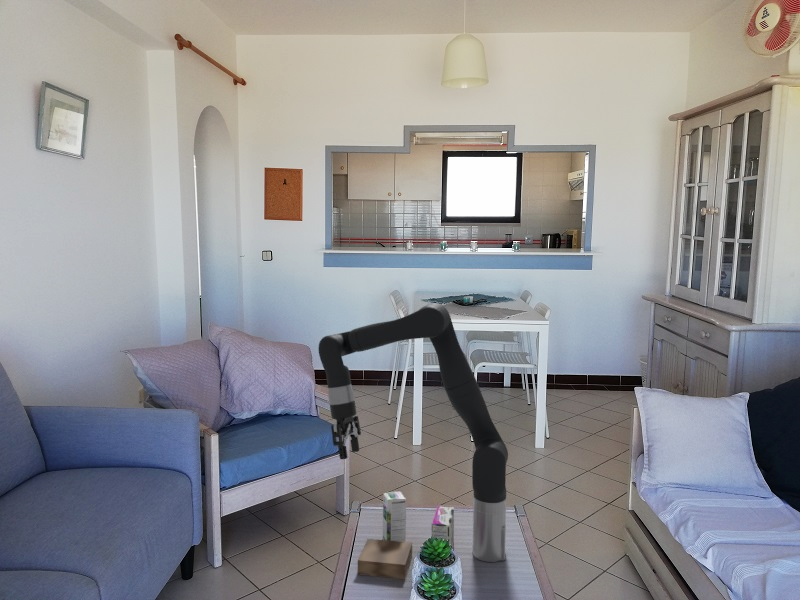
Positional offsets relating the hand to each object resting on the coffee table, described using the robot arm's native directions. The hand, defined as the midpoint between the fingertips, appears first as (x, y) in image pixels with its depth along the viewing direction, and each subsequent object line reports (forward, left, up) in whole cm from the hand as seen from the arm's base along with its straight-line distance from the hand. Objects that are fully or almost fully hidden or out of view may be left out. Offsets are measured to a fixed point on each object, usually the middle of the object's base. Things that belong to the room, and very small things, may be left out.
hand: (350, 455), depth 184 cm
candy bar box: (-29, +14, -26) cm, 42 cm away
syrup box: (-13, 0, -26) cm, 29 cm away
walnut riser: (-13, +13, -26) cm, 32 cm away
